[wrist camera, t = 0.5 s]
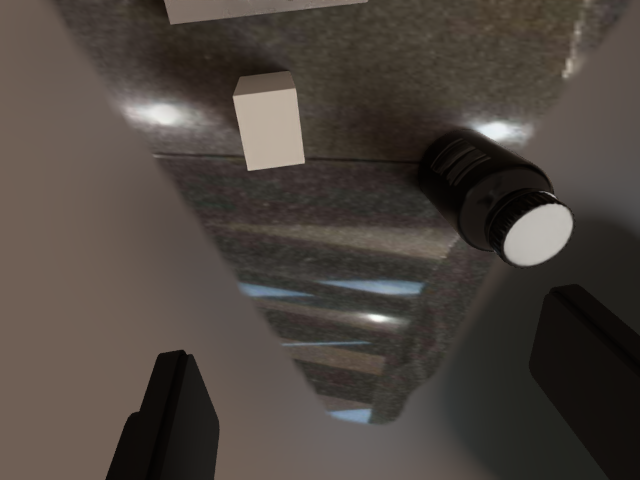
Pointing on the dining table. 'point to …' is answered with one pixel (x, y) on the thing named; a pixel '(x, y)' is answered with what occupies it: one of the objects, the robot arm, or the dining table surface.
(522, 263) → the supplement bottle
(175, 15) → the socket board
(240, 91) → the plug
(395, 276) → the dining table surface
